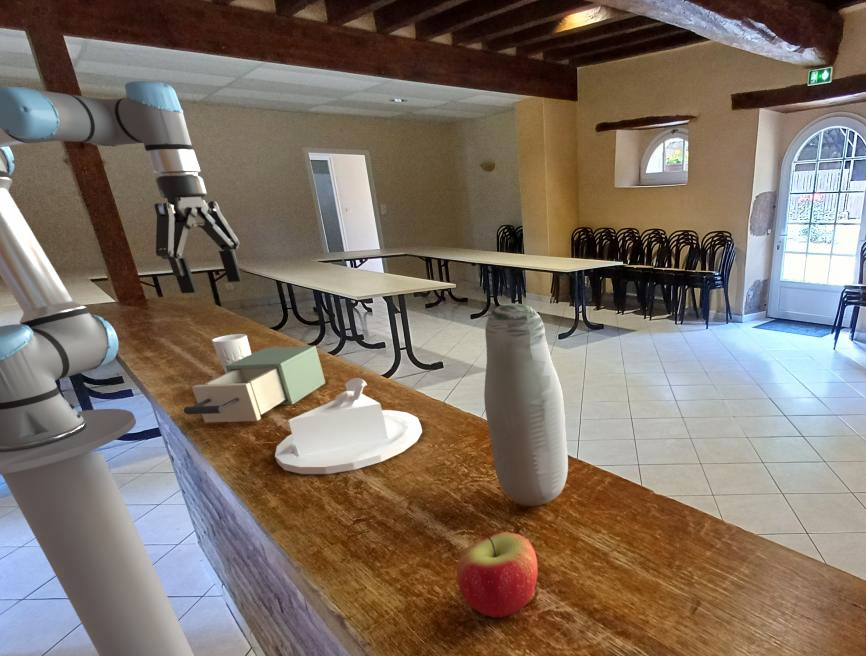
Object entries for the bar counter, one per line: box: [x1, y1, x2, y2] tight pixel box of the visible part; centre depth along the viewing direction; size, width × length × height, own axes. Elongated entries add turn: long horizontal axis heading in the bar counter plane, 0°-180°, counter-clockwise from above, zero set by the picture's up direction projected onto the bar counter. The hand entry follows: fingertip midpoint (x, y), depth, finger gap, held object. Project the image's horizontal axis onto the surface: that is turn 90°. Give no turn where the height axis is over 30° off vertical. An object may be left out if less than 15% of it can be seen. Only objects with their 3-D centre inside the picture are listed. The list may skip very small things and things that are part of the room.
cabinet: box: [226, 345, 326, 406], centre depth 128 cm, size 15×13×10 cm
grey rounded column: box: [483, 303, 569, 507], centre depth 74 cm, size 10×10×28 cm
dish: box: [274, 377, 423, 475], centre depth 100 cm, size 25×25×11 cm
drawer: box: [183, 367, 287, 423], centre depth 115 cm, size 20×11×8 cm, turn 177°
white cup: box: [211, 333, 252, 374], centre depth 146 cm, size 8×8×10 cm
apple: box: [456, 532, 539, 618], centre depth 58 cm, size 8×8×10 cm
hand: (213, 286), depth 115 cm, fingers open, 13 cm apart
